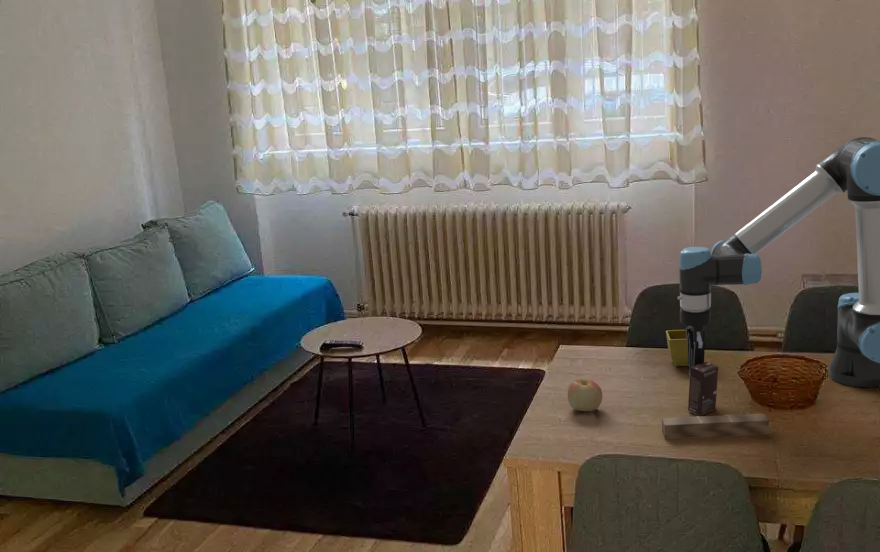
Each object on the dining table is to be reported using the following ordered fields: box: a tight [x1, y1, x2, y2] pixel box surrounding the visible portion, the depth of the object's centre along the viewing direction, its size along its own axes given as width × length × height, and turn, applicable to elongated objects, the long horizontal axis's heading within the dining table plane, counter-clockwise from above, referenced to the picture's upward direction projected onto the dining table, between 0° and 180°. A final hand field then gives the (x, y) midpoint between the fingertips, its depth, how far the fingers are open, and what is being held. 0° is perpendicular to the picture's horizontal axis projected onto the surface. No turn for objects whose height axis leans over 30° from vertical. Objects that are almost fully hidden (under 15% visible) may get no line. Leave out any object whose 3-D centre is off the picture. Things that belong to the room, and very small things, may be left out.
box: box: [687, 361, 719, 417], centre depth 217 cm, size 6×4×12 cm
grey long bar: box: [661, 413, 770, 440], centre depth 206 cm, size 24×4×4 cm, turn 86°
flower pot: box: [665, 329, 689, 367], centre depth 250 cm, size 9×9×9 cm
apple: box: [567, 378, 603, 412], centre depth 224 cm, size 9×9×8 cm
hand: (695, 394), depth 226 cm, fingers closed
